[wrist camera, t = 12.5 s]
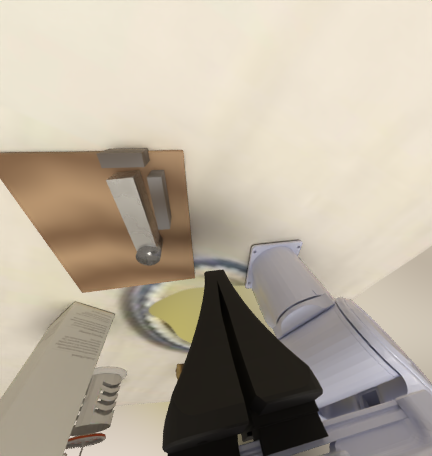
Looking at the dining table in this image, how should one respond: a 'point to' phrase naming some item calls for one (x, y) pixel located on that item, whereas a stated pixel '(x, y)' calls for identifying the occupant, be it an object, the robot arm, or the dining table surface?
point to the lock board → (103, 212)
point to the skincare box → (53, 384)
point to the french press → (101, 417)
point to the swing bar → (137, 215)
